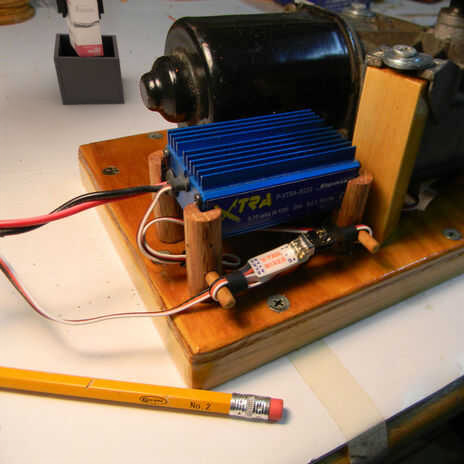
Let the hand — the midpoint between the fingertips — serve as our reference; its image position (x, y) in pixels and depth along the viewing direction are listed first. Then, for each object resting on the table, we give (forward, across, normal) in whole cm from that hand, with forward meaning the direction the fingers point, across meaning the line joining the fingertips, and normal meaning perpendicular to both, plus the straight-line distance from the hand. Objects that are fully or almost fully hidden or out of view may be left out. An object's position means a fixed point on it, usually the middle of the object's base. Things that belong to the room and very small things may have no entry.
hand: (82, 15), depth 96 cm
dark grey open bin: (+16, 0, 0) cm, 16 cm away
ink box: (+7, 0, 0) cm, 7 cm away
